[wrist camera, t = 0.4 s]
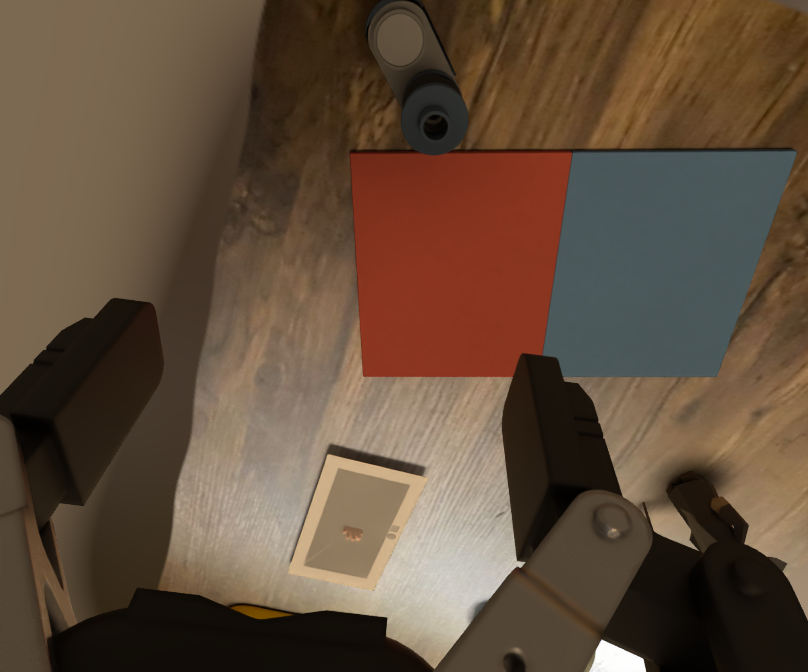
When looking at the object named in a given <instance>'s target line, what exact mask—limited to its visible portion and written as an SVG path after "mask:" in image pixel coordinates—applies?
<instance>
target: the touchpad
mask: <svg viewBox="0 0 808 672" xmlns="http://www.w3.org/2000/svg"><path fill="white" fill-rule="evenodd" d="M427 480H428V478H426V477H422V476H418V475H414V474H410V473H406V472H401V471H397V470H393V469H389V468H385V467H380V466H376V465H372V464H368V463H364V462H359V461H355V460H351V459H347V458H343V457H338V456H334V455H330V454H328V456H327V459H326V462H325V465H324V467H323V470H322V473H321V476H320V479H319V482H318V485H317V488H316V491H315V494H314V497H313V500H312V503H311V506H310V509H309V512H308V515H307V518H306V520H305V523H304V526H303V529H302V532H301V535H300V538H299V541H298V544H297V547H296V550H295V553H294V556H293V559H292V562H291V565H290V568H289V571H288V573H289V574H294V575H299V576H304V577H309V578H313V579H318V580H323V581H328V582H333V583H338V584H343V585H348V586H353V587H358V588H363V589H368V590H373V591H374V589H375V587H376V585H377V583H378V581H379V579H380V576H381V574H382V572H383V570H384V568H385V566H386V564H387V562H388V560H389V558H390V556H391V554H392V552H393V550H394V548H395V546H396V544H397V542H398V540H399V537H400V535H401V533H402V531H403V529H404V527H405V525H406V523H407V521H408V519H409V517H410V515H411V513H412V511H413V509H414V507H415V505H416V503H417V500H418V498H419V496H420V494H421V492H422V490H423V488H424V486H425V484H426V482H427Z"/></svg>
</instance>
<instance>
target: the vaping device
mask: <svg viewBox="0 0 808 672" xmlns="http://www.w3.org/2000/svg"><path fill="white" fill-rule="evenodd" d="M418 1H419V2H420V3H421V4H422V5H423V3H422V1H421V0H381V1H380V2H379V3H378V4H377V5H376V6H374V8H373V9H372V11H371V13H370V14H369V16H368V19H367V22H366V26H365V36H366V39H367V42H368V44H369V46H370V49H371V51H372V53H373V55H374V57H375V59H376V61H377V62H378V64H379V66H380V68H381V70H382V72H383V74H384V76H385V78H386V80H387V81H388V83H389V85H390V87H391V89H392V91H393V93H394V95H395V97H396V99H397V101H398V102H399V104H400V106H401V108H402V113H401V127H402V132H403V134H404V137H405V139H406V140H407V142H408V143H409V144H410V145H411V146H412V147H413V148H414V149H415V150H417V151H418V152H420V153H422V154H426V155H432V156H435V155H442V154H445V153H447V152H450V151H451V150H453V149H454V148H455V147H457V146H458V145H459V144H460V142H461V141H462V140H463V138H464V136H465V134H466V131H467V128H468V111H467V108H466V105H465V102H464V100H463V98H462V93H461V90H460V88H459V86H458V84H457V82H456V80H455V77H454V76H455V75H456V74H455V72H454V70H453V67H452V65H451V63H450V61H449V59H448V57H447V54H446V52H445V50H444V48H443V46H442V44H441V41H440V39H439V37H438V35H437V33H436V31H435V28H434V26H433V24H432V22H431V20H430V18H429V15H428V13H427V11H426V9H425V7H424V5H423V7H421V5H420V4H419V2H418Z"/></svg>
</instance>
